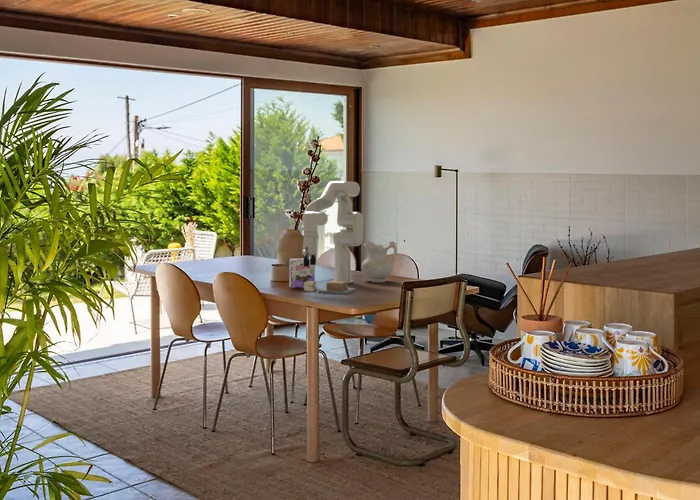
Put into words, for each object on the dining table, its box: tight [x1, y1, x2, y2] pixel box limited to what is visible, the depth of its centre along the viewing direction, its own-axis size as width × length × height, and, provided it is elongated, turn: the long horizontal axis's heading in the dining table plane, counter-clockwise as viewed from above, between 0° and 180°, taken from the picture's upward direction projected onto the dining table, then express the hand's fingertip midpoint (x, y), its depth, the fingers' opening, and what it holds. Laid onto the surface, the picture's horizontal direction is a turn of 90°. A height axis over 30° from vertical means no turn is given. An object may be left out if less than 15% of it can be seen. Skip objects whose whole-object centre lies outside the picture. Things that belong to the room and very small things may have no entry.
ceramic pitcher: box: [361, 241, 398, 283], centre depth 509 cm, size 22×20×25 cm
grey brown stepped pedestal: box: [317, 280, 356, 295], centre depth 462 cm, size 16×16×6 cm
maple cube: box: [303, 281, 317, 292], centre depth 467 cm, size 5×5×5 cm
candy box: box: [288, 257, 316, 289], centre depth 479 cm, size 14×6×16 cm, turn 105°
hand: (309, 265), depth 466 cm, fingers open, 9 cm apart
